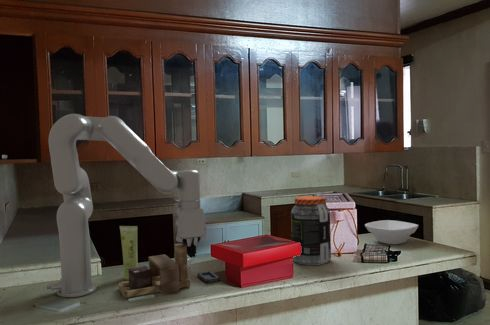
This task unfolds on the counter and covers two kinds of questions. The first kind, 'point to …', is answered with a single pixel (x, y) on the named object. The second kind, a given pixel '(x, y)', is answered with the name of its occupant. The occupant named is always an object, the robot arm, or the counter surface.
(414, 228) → the bowl
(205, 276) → the pit tray
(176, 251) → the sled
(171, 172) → the robot arm
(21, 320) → the counter surface
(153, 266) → the tunnel
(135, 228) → the tube
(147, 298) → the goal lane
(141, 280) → the box
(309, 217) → the supplement tub
